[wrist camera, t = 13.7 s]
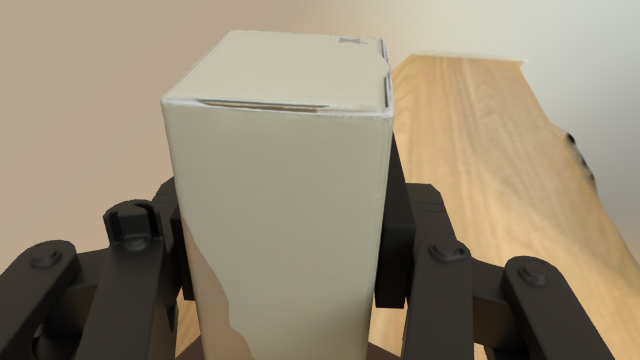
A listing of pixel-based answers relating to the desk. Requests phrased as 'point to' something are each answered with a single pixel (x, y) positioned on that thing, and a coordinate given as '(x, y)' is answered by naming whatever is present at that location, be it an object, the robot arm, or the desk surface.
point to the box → (283, 190)
